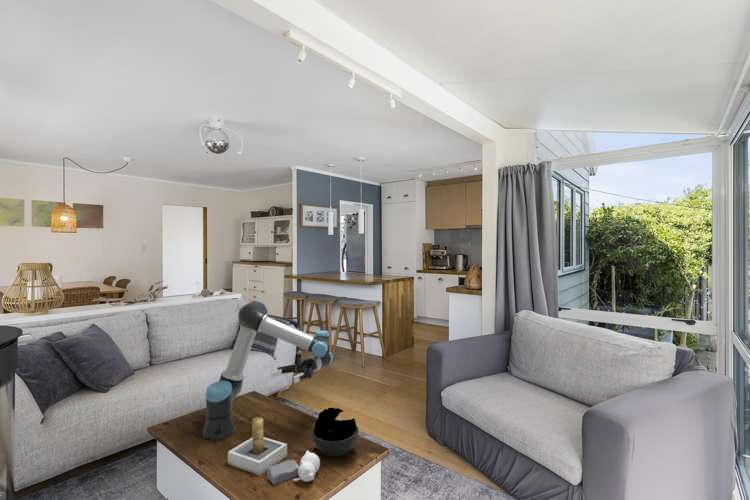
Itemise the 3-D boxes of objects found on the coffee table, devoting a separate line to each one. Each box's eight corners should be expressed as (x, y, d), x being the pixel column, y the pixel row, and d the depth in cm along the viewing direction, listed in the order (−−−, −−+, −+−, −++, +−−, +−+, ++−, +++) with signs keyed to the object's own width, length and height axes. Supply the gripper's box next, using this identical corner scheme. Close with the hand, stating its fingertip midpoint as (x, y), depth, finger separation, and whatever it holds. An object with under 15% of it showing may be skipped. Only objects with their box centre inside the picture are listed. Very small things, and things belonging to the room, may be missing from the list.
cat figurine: (307, 461, 138) (314, 443, 150) (284, 476, 139) (293, 457, 151) (320, 481, 138) (326, 461, 150) (297, 495, 139) (304, 475, 151)
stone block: (264, 479, 146) (273, 486, 139) (263, 466, 147) (272, 472, 139) (292, 469, 153) (302, 476, 145) (292, 457, 154) (301, 463, 146)
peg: (250, 458, 156) (250, 420, 156) (258, 453, 160) (257, 416, 160) (258, 461, 154) (257, 422, 154) (265, 456, 158) (265, 418, 158)
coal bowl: (336, 437, 175) (335, 397, 175) (368, 451, 162) (367, 408, 163) (303, 455, 160) (302, 412, 160) (335, 472, 147) (335, 425, 147)
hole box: (228, 463, 154) (227, 451, 154) (256, 445, 168) (256, 434, 168) (259, 475, 146) (259, 462, 146) (287, 455, 160) (287, 444, 160)
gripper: (331, 376, 184) (304, 390, 165) (292, 369, 196) (262, 381, 177) (331, 361, 184) (304, 373, 165) (292, 355, 196) (262, 366, 177)
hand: (282, 377), depth 171 cm, fingers open, 13 cm apart
